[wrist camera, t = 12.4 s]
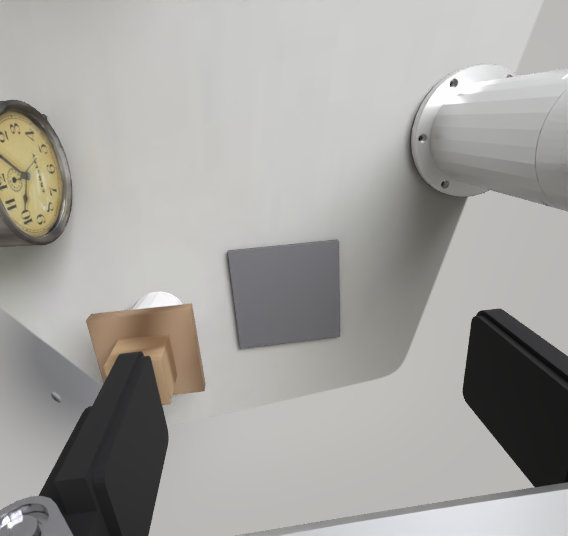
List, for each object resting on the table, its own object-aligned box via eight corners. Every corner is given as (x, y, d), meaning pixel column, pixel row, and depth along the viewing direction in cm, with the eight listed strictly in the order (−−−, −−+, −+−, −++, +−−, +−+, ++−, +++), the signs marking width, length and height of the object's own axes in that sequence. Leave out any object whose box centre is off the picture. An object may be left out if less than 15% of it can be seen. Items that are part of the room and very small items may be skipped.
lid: (191, 303, 35) (184, 332, 30) (205, 383, 38) (200, 421, 34) (90, 314, 34) (66, 345, 30) (113, 394, 38) (95, 434, 33)
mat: (337, 239, 42) (338, 241, 41) (338, 334, 46) (340, 336, 46) (227, 250, 41) (227, 252, 40) (240, 345, 45) (240, 348, 45)
